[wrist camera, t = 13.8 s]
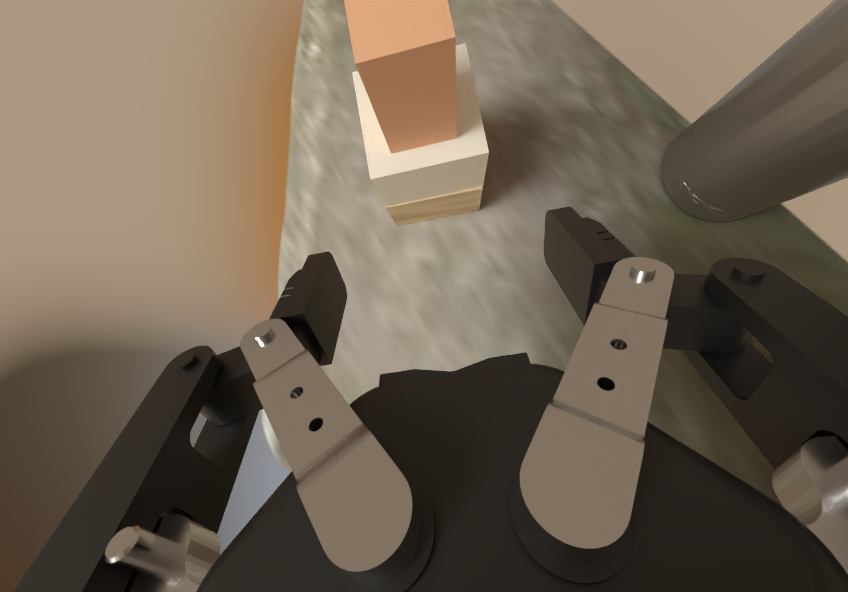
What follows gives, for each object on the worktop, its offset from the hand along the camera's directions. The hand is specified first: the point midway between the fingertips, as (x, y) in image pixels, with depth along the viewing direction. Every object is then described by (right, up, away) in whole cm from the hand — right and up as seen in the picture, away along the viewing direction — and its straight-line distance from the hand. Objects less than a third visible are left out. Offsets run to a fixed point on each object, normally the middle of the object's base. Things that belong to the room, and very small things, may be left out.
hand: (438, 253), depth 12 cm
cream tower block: (0, +10, +15) cm, 18 cm away
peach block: (-1, +11, +10) cm, 14 cm away
